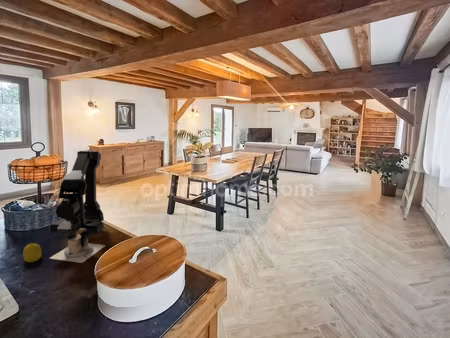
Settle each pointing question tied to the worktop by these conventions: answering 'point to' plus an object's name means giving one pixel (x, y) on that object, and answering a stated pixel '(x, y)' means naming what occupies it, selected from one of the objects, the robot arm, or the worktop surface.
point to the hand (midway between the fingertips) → (78, 246)
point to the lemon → (32, 252)
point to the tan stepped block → (77, 247)
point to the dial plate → (81, 258)
